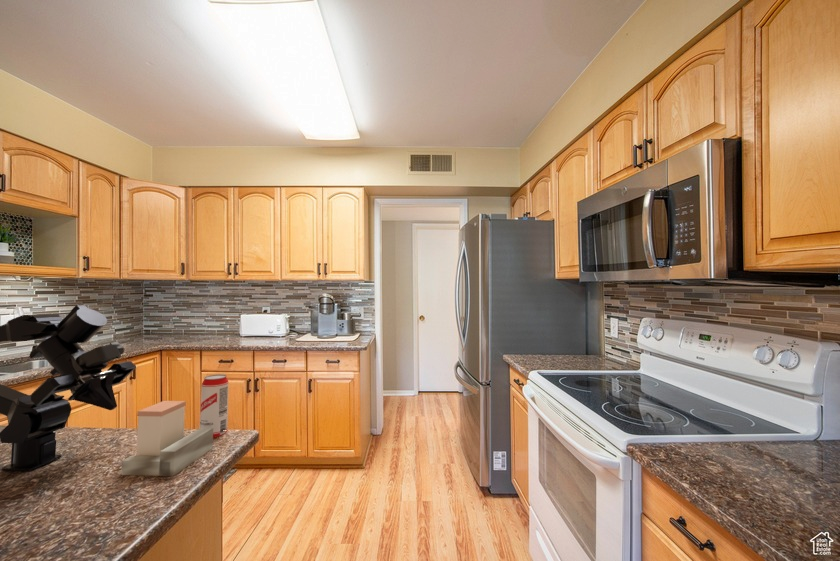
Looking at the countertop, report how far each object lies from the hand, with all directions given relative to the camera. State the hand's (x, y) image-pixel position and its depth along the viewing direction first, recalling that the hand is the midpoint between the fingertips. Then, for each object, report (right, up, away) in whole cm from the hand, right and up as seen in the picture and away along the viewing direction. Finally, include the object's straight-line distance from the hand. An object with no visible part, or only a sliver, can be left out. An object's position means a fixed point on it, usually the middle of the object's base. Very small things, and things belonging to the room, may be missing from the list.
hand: (114, 408), depth 76 cm
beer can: (+13, -13, +14) cm, 24 cm away
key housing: (+11, -12, -1) cm, 17 cm away
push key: (+11, -11, -1) cm, 16 cm away
